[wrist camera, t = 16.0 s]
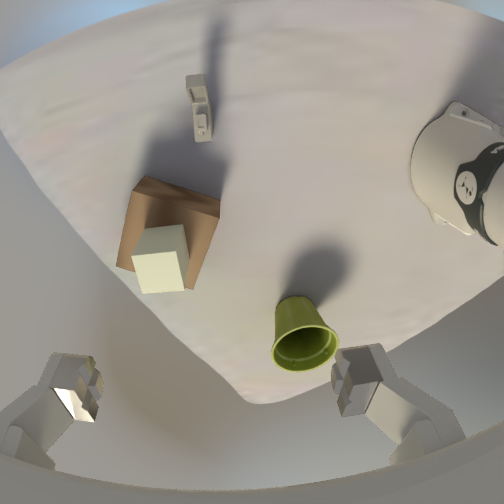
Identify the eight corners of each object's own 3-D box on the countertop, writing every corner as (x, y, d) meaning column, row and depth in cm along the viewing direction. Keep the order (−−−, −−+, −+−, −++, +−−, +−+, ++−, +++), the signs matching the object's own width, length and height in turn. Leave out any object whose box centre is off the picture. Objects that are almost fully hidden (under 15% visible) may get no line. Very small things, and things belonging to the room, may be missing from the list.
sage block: (183, 224, 35) (175, 251, 29) (189, 259, 37) (184, 290, 32) (144, 228, 35) (131, 255, 29) (152, 263, 37) (142, 293, 32)
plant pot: (334, 309, 50) (351, 347, 42) (289, 340, 52) (298, 380, 45) (300, 274, 46) (314, 313, 39) (252, 311, 49) (256, 352, 41)
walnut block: (220, 199, 40) (219, 218, 35) (196, 264, 44) (193, 289, 39) (145, 175, 38) (132, 190, 32) (128, 243, 42) (115, 266, 37)
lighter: (213, 135, 36) (209, 147, 29) (198, 136, 36) (191, 149, 29) (208, 76, 32) (203, 73, 25) (193, 78, 32) (184, 75, 25)
